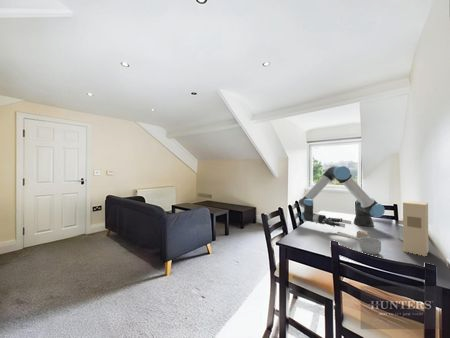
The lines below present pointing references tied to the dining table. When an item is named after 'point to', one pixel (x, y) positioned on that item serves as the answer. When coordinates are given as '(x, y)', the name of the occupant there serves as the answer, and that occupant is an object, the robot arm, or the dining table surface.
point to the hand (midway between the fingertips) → (348, 224)
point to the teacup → (370, 245)
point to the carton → (415, 227)
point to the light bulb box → (400, 231)
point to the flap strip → (359, 235)
